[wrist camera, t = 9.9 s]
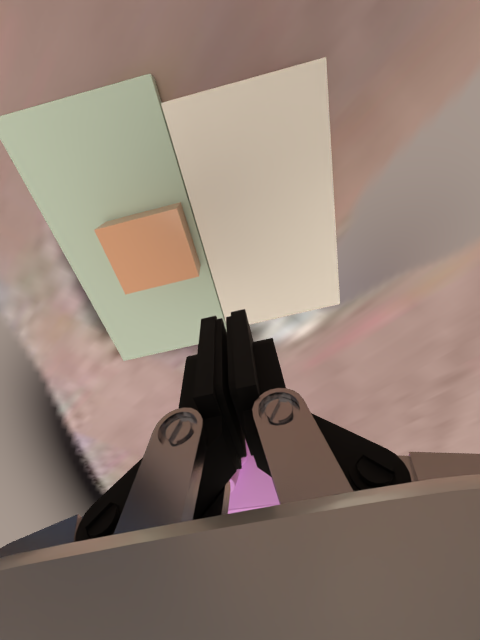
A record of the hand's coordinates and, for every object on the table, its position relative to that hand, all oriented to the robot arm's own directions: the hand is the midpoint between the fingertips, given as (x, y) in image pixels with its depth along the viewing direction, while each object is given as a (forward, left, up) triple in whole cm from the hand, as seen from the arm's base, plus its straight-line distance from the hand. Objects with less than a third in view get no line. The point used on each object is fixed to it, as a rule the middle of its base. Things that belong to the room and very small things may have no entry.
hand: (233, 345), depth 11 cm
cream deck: (-4, 0, -20) cm, 21 cm away
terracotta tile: (+7, 0, -19) cm, 20 cm away
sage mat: (+9, 0, -20) cm, 22 cm away
